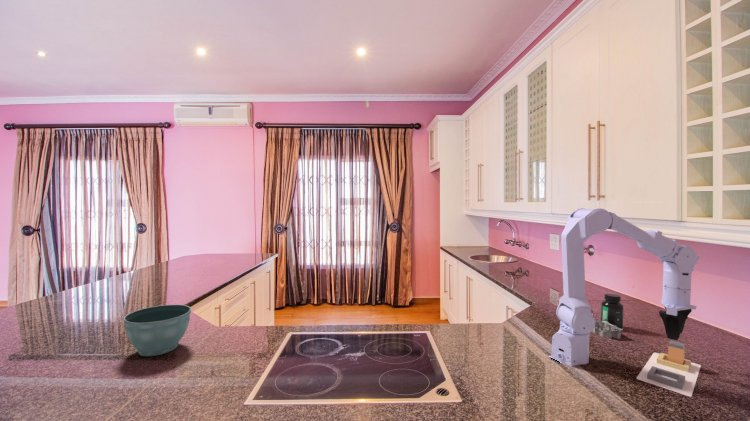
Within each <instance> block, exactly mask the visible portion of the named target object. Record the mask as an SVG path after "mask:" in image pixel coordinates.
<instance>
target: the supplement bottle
mask: <svg viewBox="0 0 750 421" xmlns="http://www.w3.org/2000/svg"><path fill="white" fill-rule="evenodd" d="M621 301H622V299H621V295H619V294H615V293H604V300H603V301H601V303H600V321H607V322H609V323H610V324H612V325H614V326H616V327H618V328H620V329H623V330H624V320H625V319H624V314H625V312H624V311H625V306H624V305H623V303H621Z"/></svg>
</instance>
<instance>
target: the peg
mask: <svg viewBox="0 0 750 421" xmlns="http://www.w3.org/2000/svg"><path fill="white" fill-rule="evenodd" d="M685 348H686V346H685V343H682V342H678V341H676V340H672V339H669V342H668V347H667V349H668V352H667V354H668V361H670V362H674V363H677V364H681V365H684V359H685V354H686V353H685Z"/></svg>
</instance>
